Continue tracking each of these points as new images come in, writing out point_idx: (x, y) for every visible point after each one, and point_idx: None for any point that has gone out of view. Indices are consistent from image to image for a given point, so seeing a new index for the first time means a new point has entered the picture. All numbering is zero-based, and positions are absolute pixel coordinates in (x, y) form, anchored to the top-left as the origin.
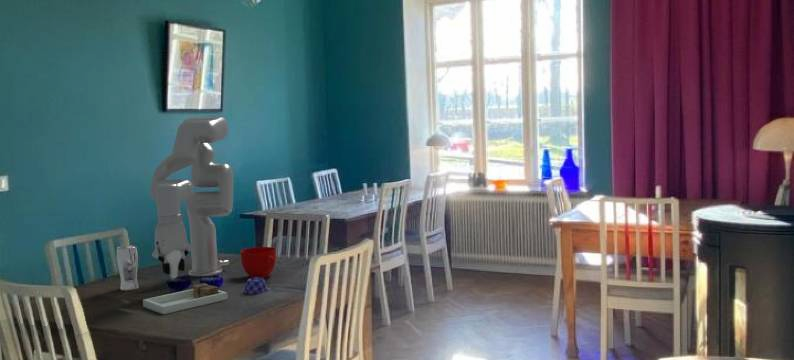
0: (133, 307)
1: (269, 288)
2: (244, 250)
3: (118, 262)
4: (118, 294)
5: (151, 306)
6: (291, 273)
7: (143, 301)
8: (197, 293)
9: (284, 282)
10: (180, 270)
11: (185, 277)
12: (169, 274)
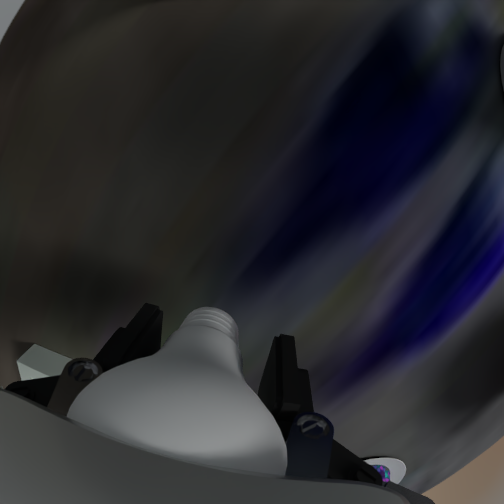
0: (18, 294)
1: (400, 479)
2: None
3: None
4: (91, 25)
5: None
6: None
7: (20, 360)
8: None
9: (473, 444)
10: (265, 367)
11: (479, 54)
12: (182, 323)
